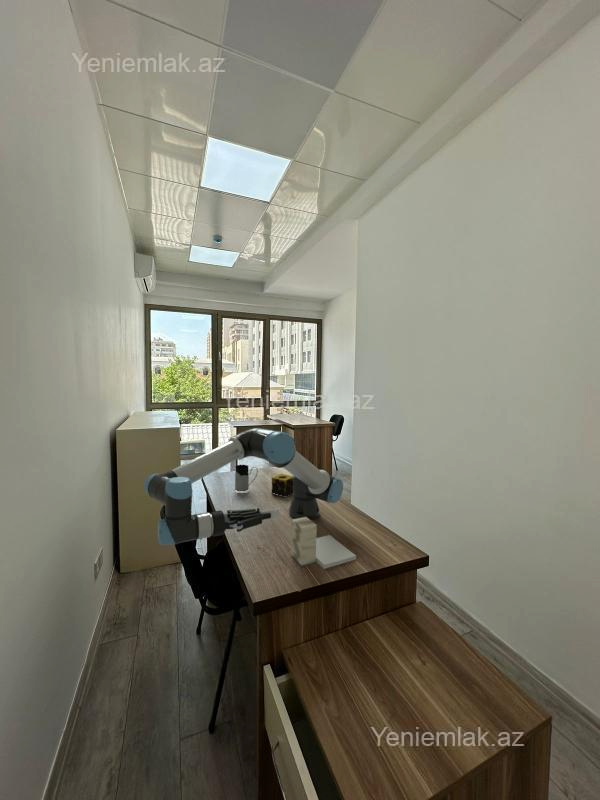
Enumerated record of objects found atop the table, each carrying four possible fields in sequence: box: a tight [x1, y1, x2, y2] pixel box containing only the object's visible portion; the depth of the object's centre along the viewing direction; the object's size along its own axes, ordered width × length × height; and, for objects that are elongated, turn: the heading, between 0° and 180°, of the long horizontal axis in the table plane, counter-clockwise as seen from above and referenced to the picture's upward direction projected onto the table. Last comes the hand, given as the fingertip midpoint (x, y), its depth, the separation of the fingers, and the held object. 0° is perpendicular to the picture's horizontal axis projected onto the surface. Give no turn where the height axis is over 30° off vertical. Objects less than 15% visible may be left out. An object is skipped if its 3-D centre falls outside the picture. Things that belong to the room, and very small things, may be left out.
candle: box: [271, 473, 293, 497], centre depth 191 cm, size 10×10×10 cm
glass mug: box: [234, 464, 259, 491], centre depth 195 cm, size 9×14×15 cm, turn 119°
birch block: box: [291, 517, 318, 567], centre depth 121 cm, size 8×6×14 cm
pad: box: [315, 534, 357, 570], centre depth 127 cm, size 18×14×2 cm
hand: (278, 512), depth 115 cm, fingers closed
